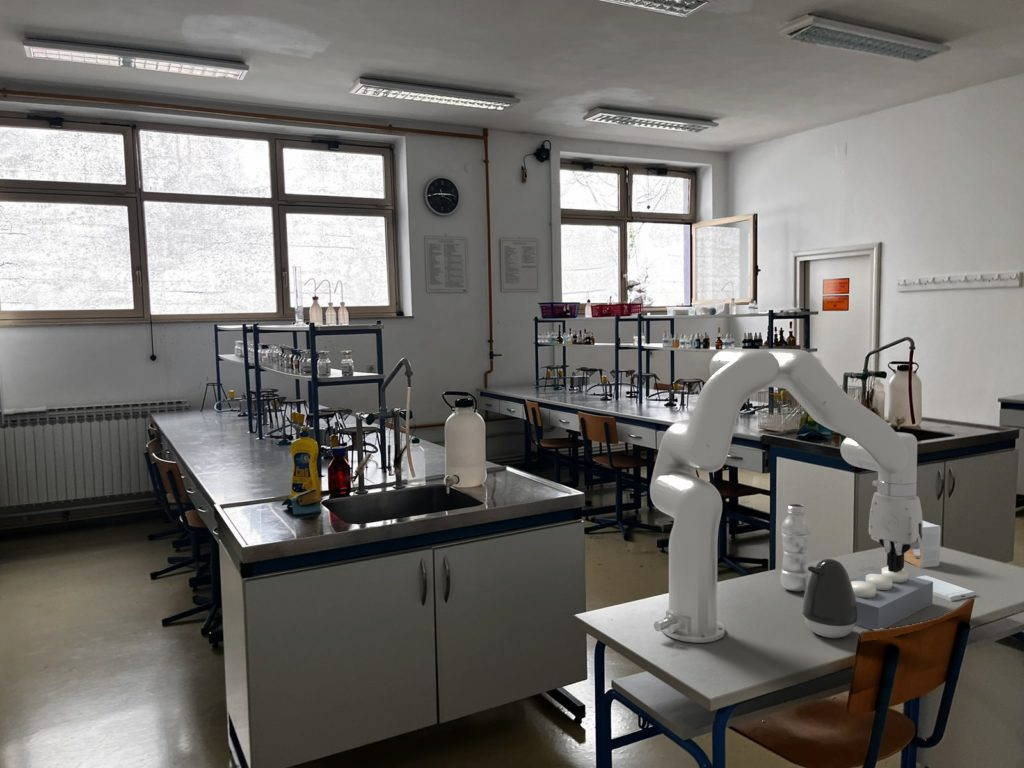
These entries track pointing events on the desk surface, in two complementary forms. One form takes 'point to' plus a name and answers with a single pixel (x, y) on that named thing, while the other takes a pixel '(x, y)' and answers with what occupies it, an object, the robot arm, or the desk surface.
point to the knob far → (896, 575)
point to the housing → (893, 602)
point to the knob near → (864, 589)
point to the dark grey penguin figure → (829, 600)
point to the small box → (926, 548)
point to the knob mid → (880, 581)
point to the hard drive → (948, 589)
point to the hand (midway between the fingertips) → (895, 570)
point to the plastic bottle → (795, 549)
